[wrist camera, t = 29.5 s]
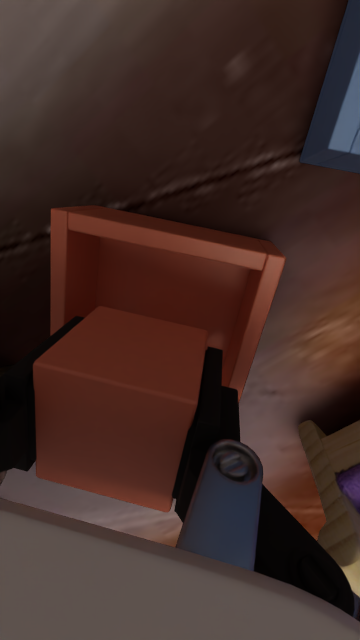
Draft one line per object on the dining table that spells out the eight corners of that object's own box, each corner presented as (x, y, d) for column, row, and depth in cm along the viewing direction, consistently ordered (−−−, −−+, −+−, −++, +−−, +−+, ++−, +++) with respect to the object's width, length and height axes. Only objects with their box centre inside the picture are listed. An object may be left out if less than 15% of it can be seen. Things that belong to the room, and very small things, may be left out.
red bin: (83, 389, 17) (49, 434, 14) (93, 204, 13) (49, 208, 10) (217, 422, 16) (214, 477, 13) (272, 241, 12) (287, 257, 9)
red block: (92, 393, 12) (34, 478, 9) (98, 304, 11) (30, 361, 7) (187, 417, 12) (169, 514, 8) (208, 329, 10) (198, 403, 7)
